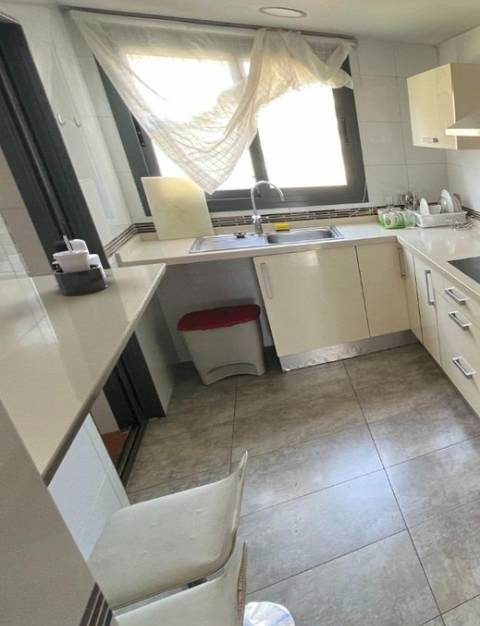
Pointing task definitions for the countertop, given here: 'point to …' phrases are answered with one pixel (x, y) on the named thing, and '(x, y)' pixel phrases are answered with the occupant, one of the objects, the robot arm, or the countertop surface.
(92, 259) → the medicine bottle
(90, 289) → the stand
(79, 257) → the smoothie
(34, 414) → the countertop surface
